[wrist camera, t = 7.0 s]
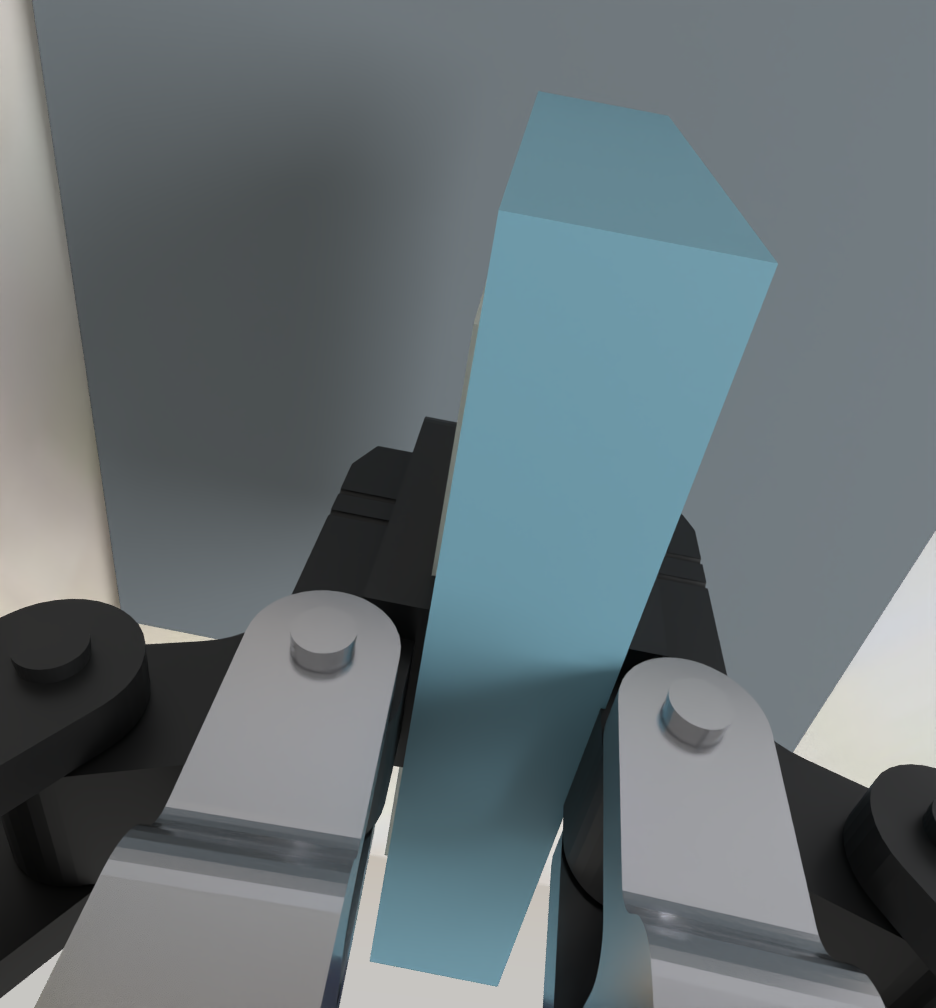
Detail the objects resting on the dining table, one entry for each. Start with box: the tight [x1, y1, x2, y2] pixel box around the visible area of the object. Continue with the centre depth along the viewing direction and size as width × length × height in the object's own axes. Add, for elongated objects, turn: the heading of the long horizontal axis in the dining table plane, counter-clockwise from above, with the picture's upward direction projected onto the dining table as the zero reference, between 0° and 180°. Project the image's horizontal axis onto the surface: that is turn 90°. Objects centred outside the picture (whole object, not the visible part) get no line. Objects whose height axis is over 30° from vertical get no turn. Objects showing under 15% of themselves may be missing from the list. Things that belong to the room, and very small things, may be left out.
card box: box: [370, 91, 778, 986], centre depth 9 cm, size 9×2×6 cm, turn 171°
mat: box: [32, 0, 936, 753], centre depth 15 cm, size 20×18×1 cm
